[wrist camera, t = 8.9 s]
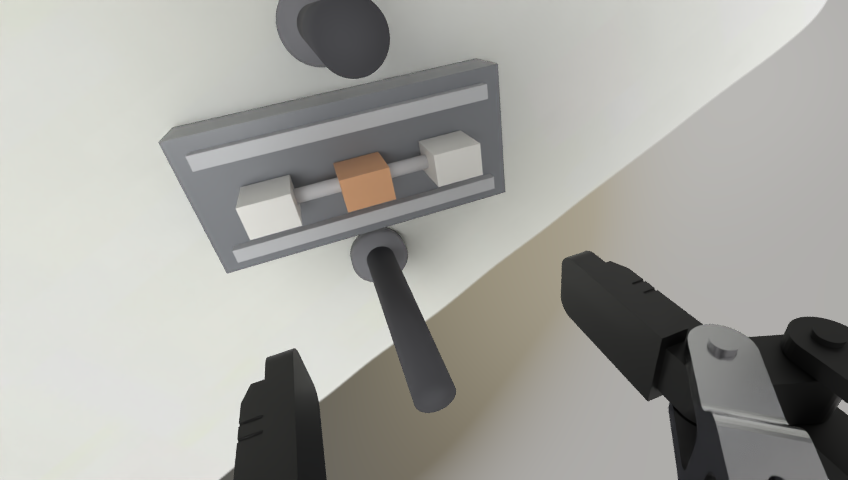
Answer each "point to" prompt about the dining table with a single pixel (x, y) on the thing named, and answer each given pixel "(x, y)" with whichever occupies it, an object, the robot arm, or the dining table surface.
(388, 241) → the dark grey lever handle
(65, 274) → the dining table surface
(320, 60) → the dark grey cylinder
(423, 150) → the white and orange bar
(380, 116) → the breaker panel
